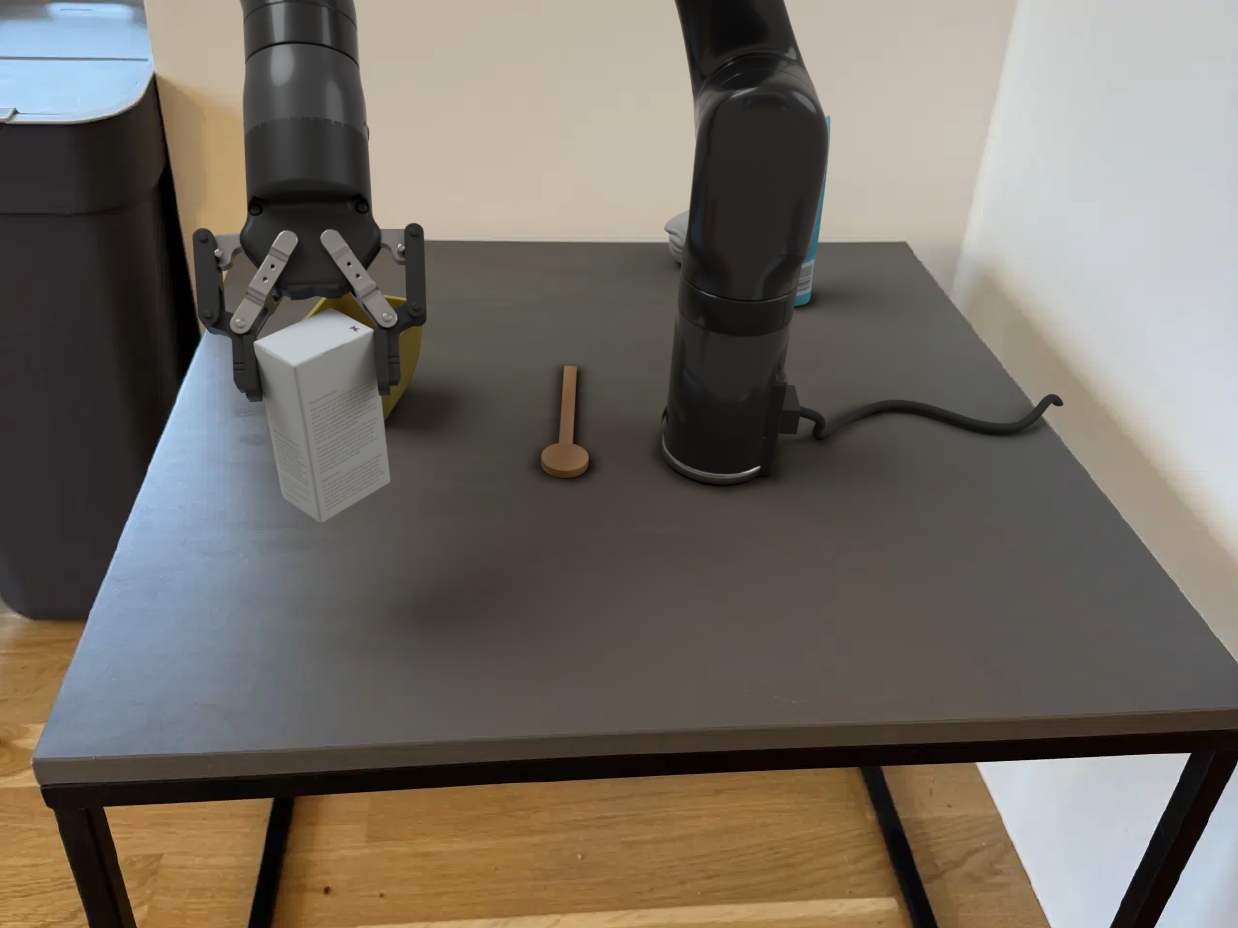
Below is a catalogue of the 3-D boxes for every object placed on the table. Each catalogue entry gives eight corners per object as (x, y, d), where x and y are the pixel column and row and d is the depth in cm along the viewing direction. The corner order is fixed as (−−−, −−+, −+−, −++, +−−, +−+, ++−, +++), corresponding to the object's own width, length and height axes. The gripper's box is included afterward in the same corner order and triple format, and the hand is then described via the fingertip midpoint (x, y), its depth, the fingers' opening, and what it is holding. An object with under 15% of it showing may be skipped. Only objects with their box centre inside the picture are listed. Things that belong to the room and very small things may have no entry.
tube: (778, 278, 124) (805, 109, 113) (819, 290, 122) (851, 119, 111) (754, 305, 119) (779, 129, 107) (796, 317, 117) (827, 140, 106)
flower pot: (395, 440, 95) (389, 349, 90) (299, 423, 96) (287, 333, 91) (430, 387, 102) (425, 300, 97) (340, 372, 103) (331, 286, 98)
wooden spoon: (591, 372, 106) (591, 364, 105) (587, 479, 92) (588, 471, 92) (549, 369, 106) (549, 362, 105) (539, 477, 92) (540, 469, 91)
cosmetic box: (350, 458, 76) (332, 304, 69) (392, 484, 74) (377, 328, 67) (277, 498, 72) (250, 340, 65) (319, 526, 70) (295, 366, 63)
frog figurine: (724, 277, 124) (731, 219, 119) (661, 274, 123) (667, 216, 119) (719, 253, 128) (726, 196, 124) (659, 250, 128) (664, 193, 124)
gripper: (172, 113, 64) (182, 389, 62) (421, 110, 67) (439, 377, 65) (199, 166, 72) (209, 415, 70) (423, 162, 74) (439, 402, 72)
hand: (320, 396), depth 67 cm, fingers closed on cosmetic box, 7 cm apart
